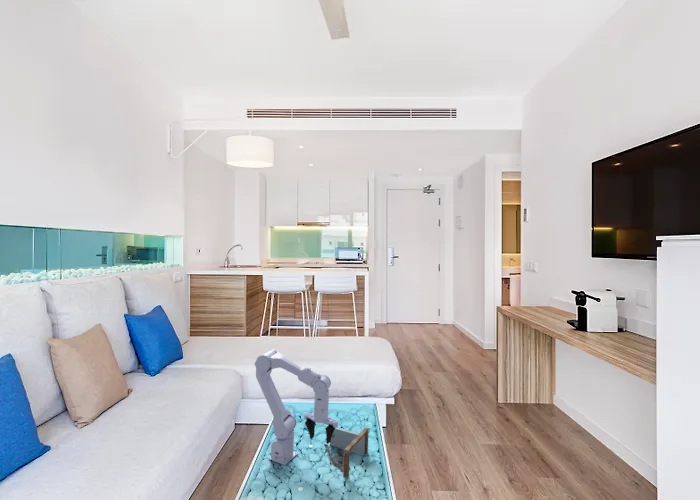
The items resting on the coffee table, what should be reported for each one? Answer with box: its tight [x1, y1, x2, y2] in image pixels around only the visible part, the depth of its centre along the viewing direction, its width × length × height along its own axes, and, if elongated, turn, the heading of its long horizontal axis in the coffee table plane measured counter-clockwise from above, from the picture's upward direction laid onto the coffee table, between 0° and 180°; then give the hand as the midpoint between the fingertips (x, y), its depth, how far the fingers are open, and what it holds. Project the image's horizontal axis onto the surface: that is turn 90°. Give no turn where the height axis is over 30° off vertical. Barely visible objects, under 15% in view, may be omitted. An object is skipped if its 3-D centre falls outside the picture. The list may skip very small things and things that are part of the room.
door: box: [329, 427, 365, 456], centre depth 174 cm, size 16×2×8 cm, turn 64°
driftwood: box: [323, 443, 351, 473], centre depth 168 cm, size 21×7×2 cm, turn 16°
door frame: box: [342, 427, 370, 479], centre depth 164 cm, size 20×2×11 cm, turn 154°
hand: (320, 440), depth 164 cm, fingers open, 7 cm apart
